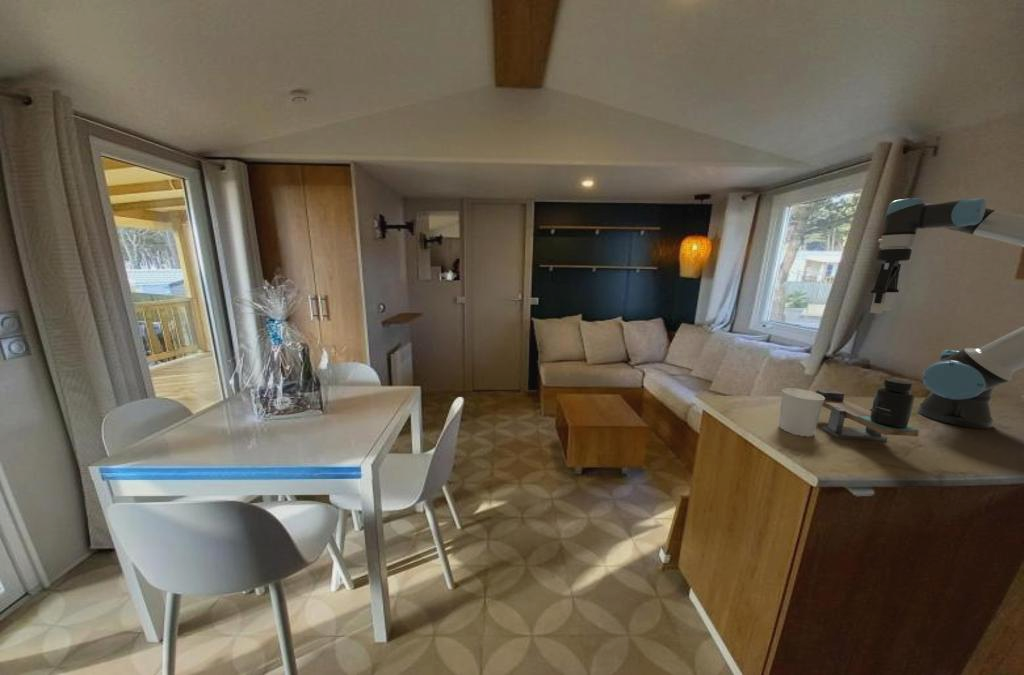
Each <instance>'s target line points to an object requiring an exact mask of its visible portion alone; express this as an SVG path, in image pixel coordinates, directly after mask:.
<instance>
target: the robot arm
mask: <svg viewBox="0 0 1024 675" xmlns="http://www.w3.org/2000/svg"><path fill="white" fill-rule="evenodd" d="M924 201H925V200H924V199H923V198H921V197H913V198H903V199H895V200H893V201H892V202H890V203H889V205H888V208H887V210H886V214H885V218H884V222H883V223H884V224H883V227H882V228H883V229H882V233H881V238H879V239H878V240H877V242H878V243H879V247H878V248H880V249H879V250H878V251H877V254H876V261H877V262H882V263H881V264H880V270H879V272H878V275H877V278H876V281H875V285H874V287H873V289H871V290H870V293H871V294H873V295H872V296H873V297H872V302H871V306H870V310H869V313H870V314H882V313H883V312H884V311H885V312H891V311H892V307H893V303H894V298H895V294H896V293H899V291H900V289H898V284H899V277H900V271H901V266H902V264H901V263H899V262H902V261H909V260H910V258H911V255H912V252H913V251H912V248H913V247H914V244H915V240H916V236H917V230H919V229H920V230H923V229H937V228H945V229H948V230H950V231H951V230H952V231H953V232H954V231H955V232H956V231H957V232H960V233H961V232H962V233H965V234H969V235H975V236H978V237H982V238H986V239H990V240H993V241H998V242H1003V243H1006V244H1010V245H1013V246H1014V245H1015V246H1019V247H1023V248H1024V215H1020V214H1016V213H1011V212H1006V211H1000V210H997V209H996V210H994V209H991V208H987V200H986V199H985V198H981V197H980V198H965V199H959V200H949V201H942V202H935V203H934V202H933V203H925V202H924ZM883 261H884V262H883ZM939 358H940V359H939V361H937V362H934V363H932V364H930V365H928V366H927V367H926V368H925V370H924V371H923V373H922V381H923V384H924V386H925V387H926V389H928V390H929V391H930V392H929V394H928V395H927V396H926V397H925V398H924V399H923V401H922V402H921V403H920V404H919V406H918V409H917V413H919V414H921V415H922V416H924V417H927V418H929V419H932V420H935V421H938V422H943V423H946V424H949V425H955V426H959V427H964V426H965V427H964V428H970V427H972V429H981V430H982V429H984V430H986V429H991V428H992V427H993V423H994V419H993V417H992V412H991V407H990V406H991V405H990V400H991V398H992V394H993V390H994V388H995V387H997V386H1000V385H1002V384H1005V383H1006V382H1007V383H1008V382H1009V381H1012V379H1013V374H1014V372H1016V371H1018V370H1020V369H1024V325H1023V326H1021V327H1019V328H1017V329H1014V330H1013V331H1010V332H1009V333H1008V334H1004V335H1003V336H1001V337H999V338H997V339H994V340H992V341H991V342H989V343H986V344H984V345H982V346H981V347H976V348H975V347H974V348H972V347H965V348H963V349H961V350H953V349H945V350H943V351H942V352H941V354H940V355H939Z"/></svg>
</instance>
